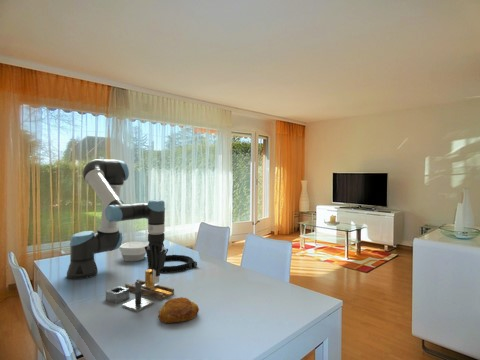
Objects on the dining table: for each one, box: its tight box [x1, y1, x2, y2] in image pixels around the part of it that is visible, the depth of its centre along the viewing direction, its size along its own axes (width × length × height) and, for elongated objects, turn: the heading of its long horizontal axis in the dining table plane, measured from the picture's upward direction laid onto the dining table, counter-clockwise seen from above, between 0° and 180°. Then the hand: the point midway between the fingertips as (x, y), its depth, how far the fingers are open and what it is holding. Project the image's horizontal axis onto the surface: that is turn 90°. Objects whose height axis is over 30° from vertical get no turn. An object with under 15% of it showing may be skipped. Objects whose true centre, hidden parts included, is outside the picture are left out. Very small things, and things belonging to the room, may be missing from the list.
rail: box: [124, 279, 175, 301], centre depth 141 cm, size 24×8×2 cm, turn 61°
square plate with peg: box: [121, 280, 154, 313], centre depth 126 cm, size 9×9×10 cm
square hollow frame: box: [105, 285, 130, 304], centre depth 132 cm, size 7×7×4 cm
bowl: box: [118, 241, 149, 262], centre depth 194 cm, size 18×18×9 cm
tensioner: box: [141, 268, 172, 297], centre depth 138 cm, size 16×5×9 cm, turn 61°
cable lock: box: [148, 254, 198, 273], centre depth 180 cm, size 28×4×30 cm
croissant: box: [158, 296, 200, 324], centre depth 117 cm, size 14×16×8 cm
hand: (155, 282), depth 138 cm, fingers closed
